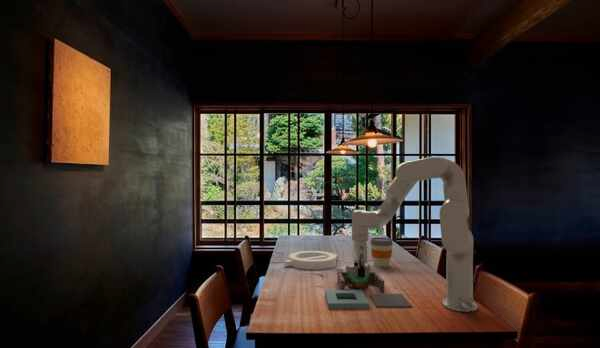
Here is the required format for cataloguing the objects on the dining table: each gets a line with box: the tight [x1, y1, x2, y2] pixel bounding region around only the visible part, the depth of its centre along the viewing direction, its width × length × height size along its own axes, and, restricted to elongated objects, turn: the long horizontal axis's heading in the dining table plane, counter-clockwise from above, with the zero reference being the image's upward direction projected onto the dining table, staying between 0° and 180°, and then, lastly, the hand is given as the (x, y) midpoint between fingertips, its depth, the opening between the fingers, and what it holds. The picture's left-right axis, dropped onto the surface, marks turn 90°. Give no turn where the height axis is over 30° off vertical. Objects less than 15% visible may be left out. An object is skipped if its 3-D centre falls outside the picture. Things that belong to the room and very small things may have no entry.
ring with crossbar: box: [283, 250, 340, 270], centre depth 207 cm, size 28×28×5 cm
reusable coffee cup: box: [370, 237, 393, 268], centre depth 202 cm, size 13×13×15 cm
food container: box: [344, 263, 372, 290], centre depth 160 cm, size 12×6×10 cm, turn 105°
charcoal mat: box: [369, 293, 413, 308], centre depth 143 cm, size 14×14×1 cm
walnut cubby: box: [336, 271, 385, 293], centre depth 162 cm, size 16×19×5 cm
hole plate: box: [324, 289, 371, 309], centre depth 143 cm, size 16×16×2 cm
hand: (359, 273), depth 160 cm, fingers open, 9 cm apart
